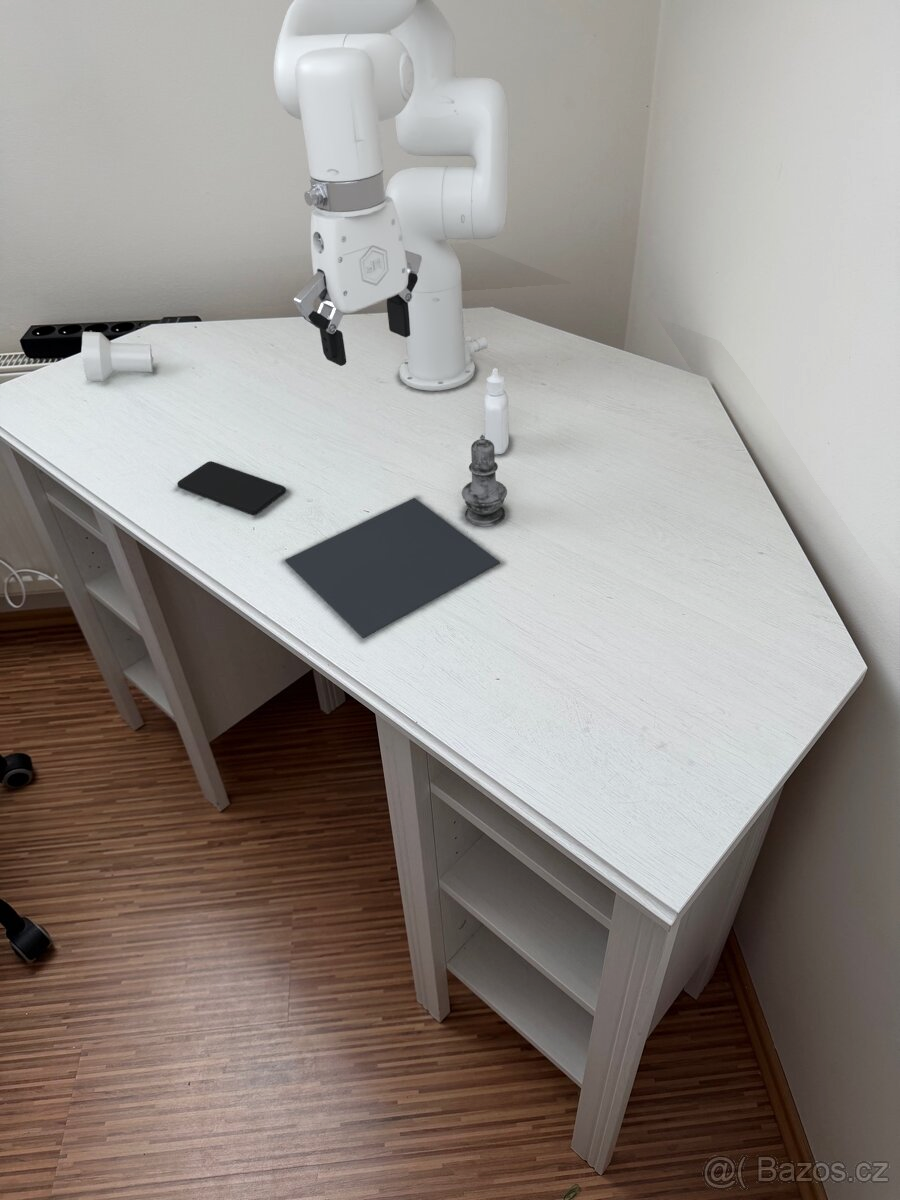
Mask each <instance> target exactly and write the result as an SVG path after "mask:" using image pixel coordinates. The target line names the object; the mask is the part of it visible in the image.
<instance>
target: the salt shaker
mask: <svg viewBox="0 0 900 1200" xmlns="http://www.w3.org/2000/svg"><path fill="white" fill-rule="evenodd" d="M470 453H471V454H470V455H471V456H470V457H471V463H470V464H469V465H468V470H469V472H471V481H470V482H469V483H467V484H466V485H465V486H464V487H463V488H462V489H461V497H462V499H463V500H464V503H465V505H466V507H467V508H466V510H465V512H464V517H465V521H467V522H468V523H469V524H471V525H473V526H475V527H481V528H482V527H487V528H488V527H493V526H496V525H498V524H499V523H501V522H502V521H503V520H504V519H505V517H506V510H505V509H504V507H502V506H503V504H504V502H505V499H506V498H507V495H508V489H507V487H506V486H505V485H504V484H503V483H502V482H500V481H498V480H497V479H496V472H497V470H498V468H499V465H498V463H497V462H496V459H495V457H496V456H495V455H496V454H494V445H493V443H492V442H491V441H489V440H486V439H485V435H484V434H481V435H480V436H479V439H477V440H475V441H473V443H471V447H470Z"/></svg>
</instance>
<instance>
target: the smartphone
mask: <svg viewBox="0 0 900 1200" xmlns="http://www.w3.org/2000/svg"><path fill="white" fill-rule="evenodd" d="M177 487H178V488H179V489H181V490H184V491H187V492H189V493H192V494H195V495H197V496H200V497H203V498H205V499H208V500H211V501H212V502H216V503H219V504H221V505H223V506H227V507H230V508H232V509H235V510H237V511H239V512H240V511H241V512H243V513H245V514H248V515H251V516H256V515H258V514H259V513H262V511H264V510H265V509H266V508H268V507H269V506H270V505H271V504H273V503H274V502H276V500H278V499H280V498H281V497H282V496H283V495H285V494H286V492H287V489H286V486H284V485H281V484H279V483H276V482H273V481H271V480H267V479H264V478H261V477H258V476H255V475H253V474H250V473H247V472H244V471H241V470H239V469H236V468H233V467H229V466H226V465H223V464H221V463H217V462H215V461H211V460H210V461H207V462H205V463H204V464H202V465H200V466H199V467H197V468H196V469H195V470H193V471H191V472H190V473H189V474H187V475H186V476H184V477H183V478H181V479H180V480H178V481H177Z"/></svg>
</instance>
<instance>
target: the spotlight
mask: <svg viewBox="0 0 900 1200" xmlns="http://www.w3.org/2000/svg"><path fill="white" fill-rule="evenodd" d="M80 352H81V353H80V355H81V362H82V366H83V369H84V375H85V378H86V381H91V382H92V381H96V382H97V381H98V382H99V381H100V382H104V381H106V380H107V379H108V378H109V377H110V376H111V374H113V372H124V373H125V372H126V373H129V372H130V373H153V369H154V367H153V366H154V357H153V349H152V344H151V343H128V342H127V343H125V342H124V343H123V342H112V341H111V340H110V339H109V338H107V337H106V335H104V334H103V333H102V332H98V331H97V332H96V331H83V332H82V335H81V350H80Z"/></svg>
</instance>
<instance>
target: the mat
mask: <svg viewBox="0 0 900 1200" xmlns="http://www.w3.org/2000/svg"><path fill="white" fill-rule="evenodd" d="M284 562H285V563H286V564H287V565H288V566H289V567H290V568H291V569H292V570H293V571H294V572H295V573H296V574H297V575H298V576H299V577H300V578H301V579H302V580H303V581H304V582H305V583H306V584H307V585H308V586H309V587H310V588H311V589H312V590H313V591H314V592H315V593H316V594H317V595H318V596H320V598H322V600H323V601H325V603H327V605H329V606H330V607H331V609H332V610H333V611H335V612H336V614H337V615H339V616H340V617H341V619H343V621H345V622H346V623H347V624H348V625H349V626H350V627H351V629H352V630H354V631H355V633H357V634H358V635H359V636H360V637H361V638H362V639H365V638H366V637H369V636H370V635H372V634H374V633H376V632H377V631H379V630H381V629H383V628H385V627H386V626H388V625H390V624H393V623H394V622H395V621H397V620H399V619H401V618H403V617H405V616H406V615H409V614H410V613H412V612H414V611H416V610H418V609H419V608H421V607H423V606H425V605H426V604H428V603H430V602H432V601H434V600H436V599H437V598H438V599H439V598H440V597H441V596H443V595H445V594H447V593H448V592H451V591H452V590H454V589H456V588H458V587H460V586H461V585H463V584H465V583H467V582H469V581H470V580H472V579H474V578H475V577H478V576H480V575H481V574H483V573H486V572H487V571H489V570H491V569H492V568H494V567H496V566H498V565H500V563H501V562H500V561H499V560H498V559H497V558H496V557H494V556H493V555H492V554H490V553H489V552H487V550H485V549H483V548H482V547H481V546H480V545H478V544H477V543H475V542H474V541H473V540H471V539H470V538H469V537H467V536H466V535H465V534H463V533H462V532H461V531H460V530H458V529H457V528H455V527H454V526H453V525H451V524H450V523H448V522H447V521H446V520H444V519H443V518H442V517H441V516H440V515H438V514H437V513H435V512H434V511H433V510H431V509H430V508H429V507H427V506H426V505H424V504H423V503H422V502H420V501H419V500H418V499H417V498H415V497H413V498H411V499H409V500H407V501H404V502H403V503H401V504H398V505H396V506H394V507H392V508H390V509H388V510H386V511H384V512H382V513H380V514H377V515H376V516H373V517H371V518H369V519H367V520H365V521H363V522H360V523H359V524H357V525H354V526H353V527H351V528H348V529H347V530H344V531H342V532H340V533H338V534H336V535H333V536H331V537H330V538H328V539H326V540H324V541H321V542H319V543H317V544H315V545H313V546H310V547H309V548H307V549H305V550H302V551H300V552H298V553H296V554H294V555H292V556H290V557H288V558H286V559H284Z"/></svg>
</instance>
